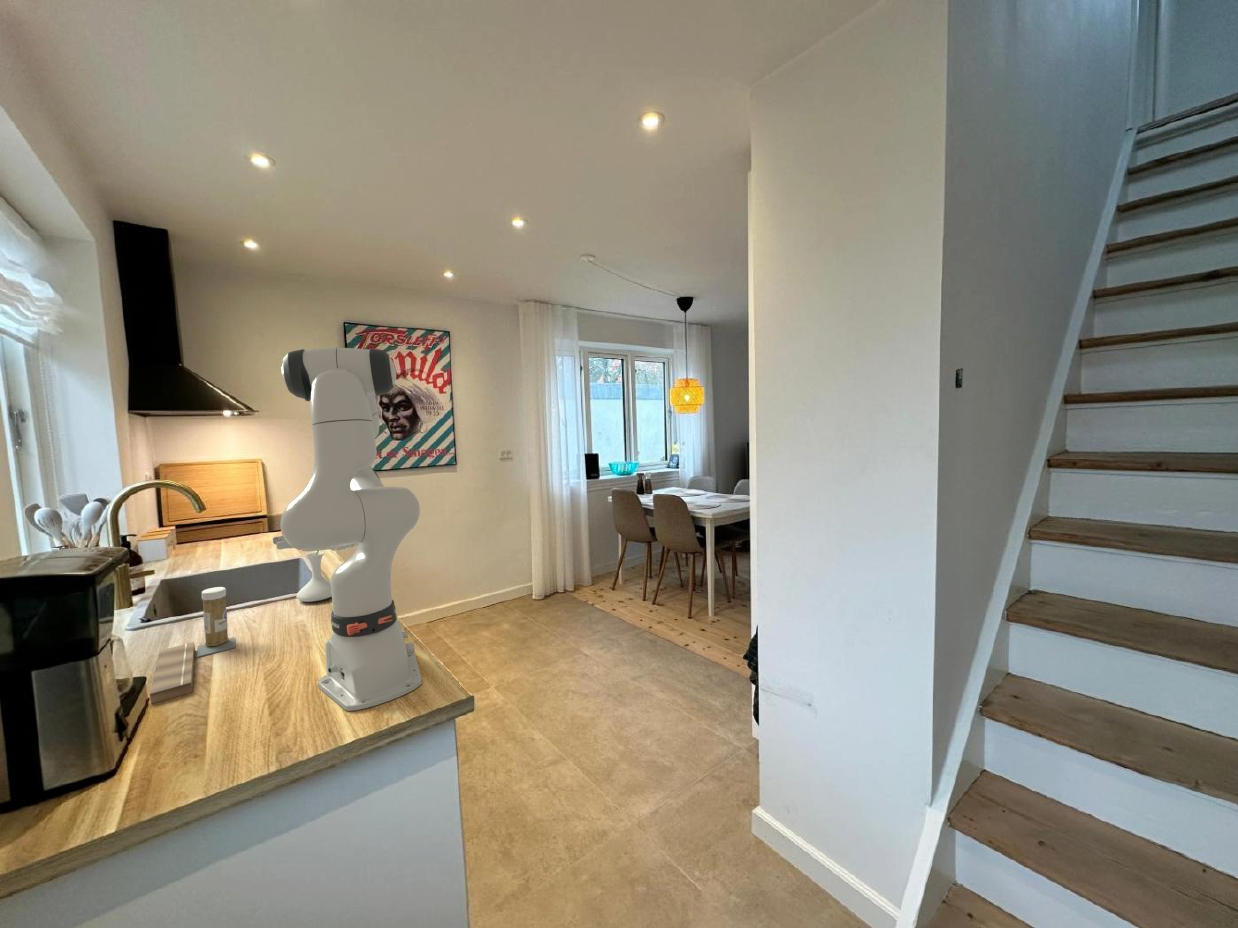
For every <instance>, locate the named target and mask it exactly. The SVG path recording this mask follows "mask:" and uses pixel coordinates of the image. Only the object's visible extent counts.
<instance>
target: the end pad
mask: <svg viewBox="0 0 1238 928" xmlns="http://www.w3.org/2000/svg"><path fill="white" fill-rule="evenodd" d="M228 638H229V640H228V641H227V642H226V643H224V644H221V645H218V646H206V645H205V643H204V644H202V645H201V644H200V645H198V646H197V655H196V658H202V657H205V656H210V655H214V654H216V653H221V652H224V651H225V652H226V651H229V650H232V649H236V648H237V647H236V639H235V636H233V637H228Z"/></svg>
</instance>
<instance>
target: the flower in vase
mask: <svg viewBox="0 0 1238 928" xmlns="http://www.w3.org/2000/svg"><path fill="white" fill-rule="evenodd" d="M328 550H330V549H328ZM324 554H325V552H324V551H320V550H319V551H312V552H309V553H307V554H305V555H304V556H305V558H307V559H308V561H309V563H310V566H311V567H310V568H311V572H312V573H311V574H312V577H311V579H310V580H309V581H308V582H307V583H306V584H305V585H304V586H303V587H302V588H301V589H300V590H299V591H298V592H297V594H296V599H297V600H298V601H300V602H319V601H323V600H327V599H329V598H332V593H331V582H330V581H331V580H329V579H327V578H325V577H324V576H323V574H322V569H321V567H322V566H321V564H322V563H321V562H322V560H323V559H322V558H323V557H324Z"/></svg>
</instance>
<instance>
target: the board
mask: <svg viewBox="0 0 1238 928" xmlns="http://www.w3.org/2000/svg"><path fill="white" fill-rule="evenodd" d="M195 656H196V647H195V642H194V641H192V642H189V643H183V644H181V645H177V646H173V647H172V646H171V647H168V648H165V649H160V650H159V652H158V657H157V660H156V664H155V665H156V666H155V670H154V676H153V678H152V679H153V680H152V682H151V688H150V692H149V698H150V704H152V705H153V704H155V703H159V702H162V701H165V700H170V699H172V698H176V697H179V696H182V695H187V694H190V693H193V688H194V687H193V685H194V671H195V670H194V668H195Z"/></svg>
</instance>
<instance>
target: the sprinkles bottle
mask: <svg viewBox="0 0 1238 928" xmlns="http://www.w3.org/2000/svg"><path fill="white" fill-rule="evenodd" d="M226 596H227V589H226V587H224V586H215V587H210V588H209V587H208V588H206V589H204V590H202V591H201V600H202V606H203V607H202V609H203V611H202V613H203V627H204V630H203V631H204V635H205V636H204V638H205V642H204V644H205V645H206V646H218V645H221V644H224V643H226V642H227V641H228V640H229V638H230V637H229V635H228V634H229V633H228V631H229V630H228V627H229V625H228V612H227V601H226V599H227V598H226Z"/></svg>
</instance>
